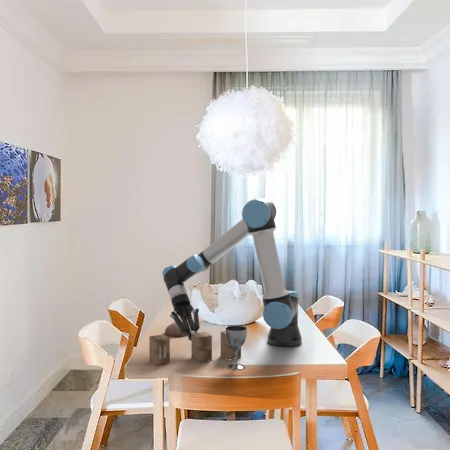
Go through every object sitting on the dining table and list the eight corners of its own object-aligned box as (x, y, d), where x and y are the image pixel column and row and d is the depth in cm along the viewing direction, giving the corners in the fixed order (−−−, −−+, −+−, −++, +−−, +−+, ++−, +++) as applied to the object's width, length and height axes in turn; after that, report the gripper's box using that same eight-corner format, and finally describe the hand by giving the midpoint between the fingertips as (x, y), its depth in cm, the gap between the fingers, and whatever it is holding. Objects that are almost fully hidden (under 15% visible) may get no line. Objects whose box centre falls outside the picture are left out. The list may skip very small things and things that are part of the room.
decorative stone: (171, 339, 217) (171, 327, 217) (160, 332, 227) (160, 321, 227) (194, 335, 223) (194, 323, 223) (183, 329, 233) (183, 318, 233)
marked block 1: (163, 358, 190) (163, 333, 189) (170, 363, 184) (169, 337, 184) (149, 361, 187) (149, 336, 186) (155, 366, 181) (155, 340, 181)
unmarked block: (204, 355, 193) (204, 331, 193) (211, 360, 188) (211, 335, 187) (191, 358, 190) (191, 333, 190) (198, 362, 185) (198, 337, 184)
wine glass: (249, 369, 178) (249, 330, 177) (229, 371, 176) (229, 331, 175) (242, 362, 186) (242, 324, 185) (223, 364, 184) (223, 326, 183)
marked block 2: (233, 353, 196) (233, 329, 196) (241, 357, 191) (241, 333, 191) (220, 355, 193) (220, 331, 193) (228, 360, 188) (228, 335, 188)
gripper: (190, 301, 212) (207, 348, 198) (163, 304, 205) (179, 353, 192) (195, 291, 207) (213, 339, 193) (167, 294, 200) (184, 344, 187)
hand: (196, 346), depth 193 cm, fingers closed
